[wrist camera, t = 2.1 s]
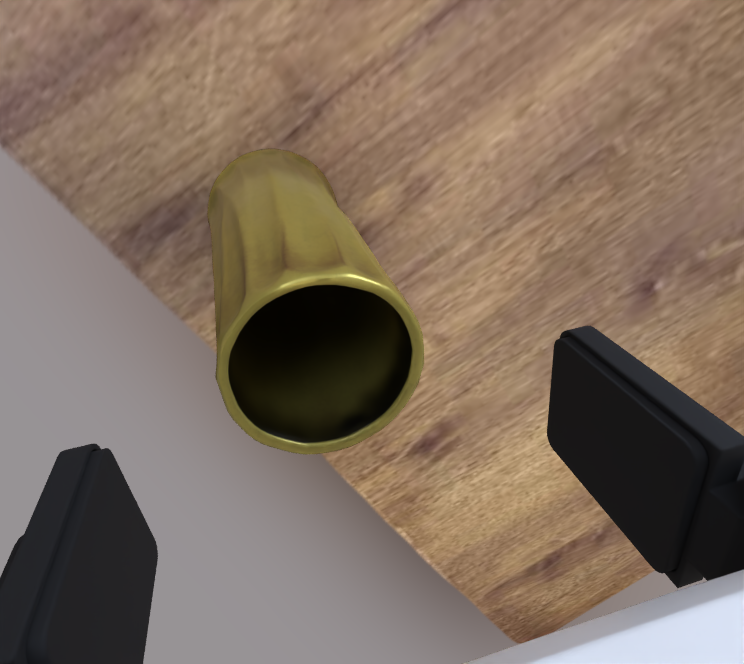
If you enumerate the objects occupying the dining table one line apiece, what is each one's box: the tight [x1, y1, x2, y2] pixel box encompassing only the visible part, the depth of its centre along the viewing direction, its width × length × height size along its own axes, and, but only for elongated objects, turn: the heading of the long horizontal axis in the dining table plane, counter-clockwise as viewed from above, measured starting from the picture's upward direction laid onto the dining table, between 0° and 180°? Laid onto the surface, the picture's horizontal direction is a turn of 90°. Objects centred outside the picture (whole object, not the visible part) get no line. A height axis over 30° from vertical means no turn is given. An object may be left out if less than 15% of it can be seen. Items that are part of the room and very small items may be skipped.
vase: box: [208, 149, 424, 454], centre depth 18 cm, size 6×6×14 cm
